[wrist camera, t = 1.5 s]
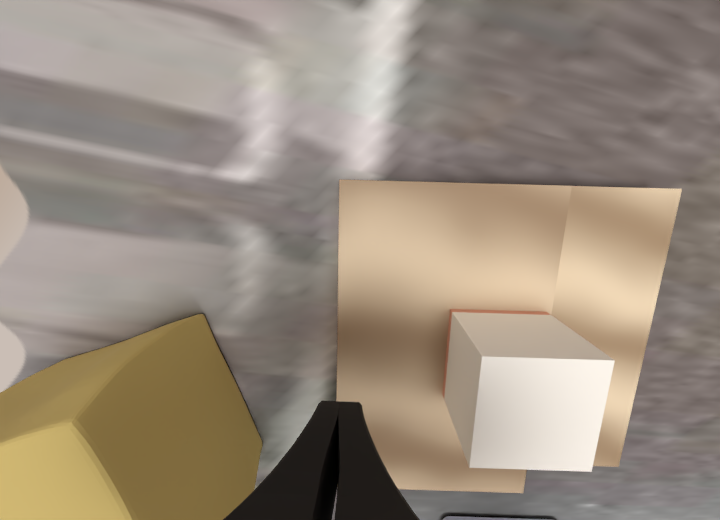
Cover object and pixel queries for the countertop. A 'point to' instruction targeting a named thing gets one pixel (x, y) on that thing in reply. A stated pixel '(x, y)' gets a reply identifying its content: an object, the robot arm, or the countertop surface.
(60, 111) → the countertop surface
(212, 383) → the cheese
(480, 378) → the white cube
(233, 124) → the countertop surface
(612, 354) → the step
